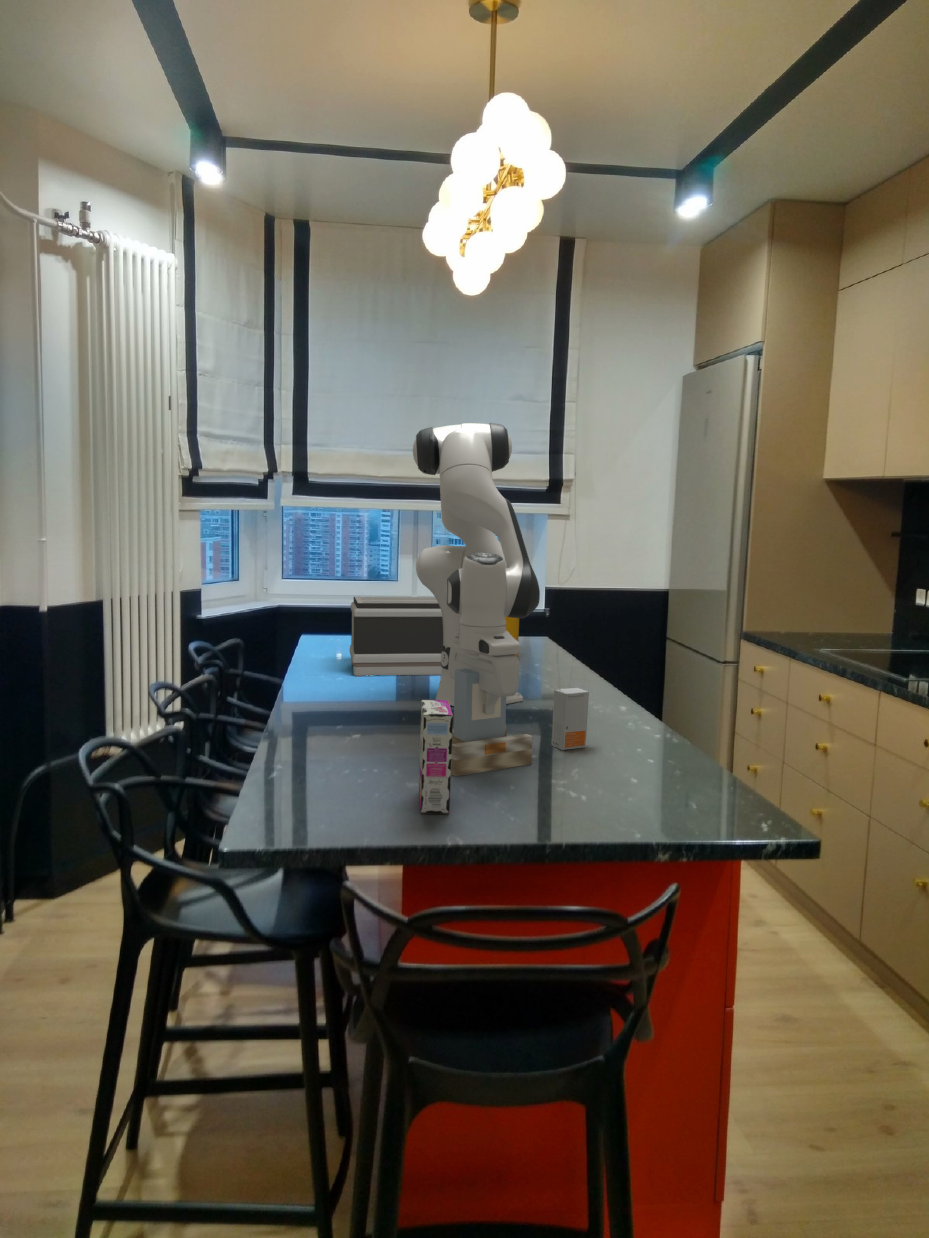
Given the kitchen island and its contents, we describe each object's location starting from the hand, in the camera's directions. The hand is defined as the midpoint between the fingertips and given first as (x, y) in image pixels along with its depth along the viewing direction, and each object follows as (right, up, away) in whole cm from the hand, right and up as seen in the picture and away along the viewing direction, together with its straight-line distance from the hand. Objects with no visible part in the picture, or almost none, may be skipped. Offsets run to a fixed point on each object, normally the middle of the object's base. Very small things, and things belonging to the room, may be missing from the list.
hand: (480, 710), depth 165 cm
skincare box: (+19, -9, +14) cm, 25 cm away
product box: (0, -5, +1) cm, 5 cm away
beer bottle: (+10, +4, +113) cm, 113 cm away
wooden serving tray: (0, -10, +1) cm, 10 cm away
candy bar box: (-8, -13, -22) cm, 27 cm away
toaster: (-20, +2, +91) cm, 93 cm away
